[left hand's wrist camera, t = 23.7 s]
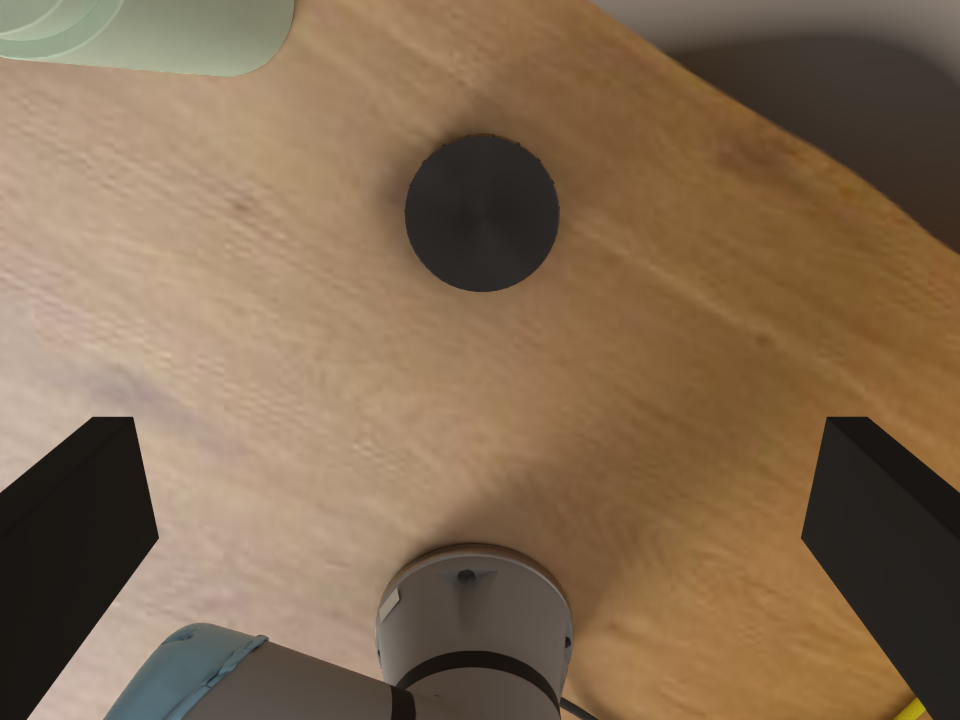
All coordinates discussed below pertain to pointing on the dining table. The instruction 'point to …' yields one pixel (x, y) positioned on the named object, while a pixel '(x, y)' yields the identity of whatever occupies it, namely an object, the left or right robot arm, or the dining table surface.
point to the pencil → (911, 711)
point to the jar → (147, 33)
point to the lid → (482, 213)
